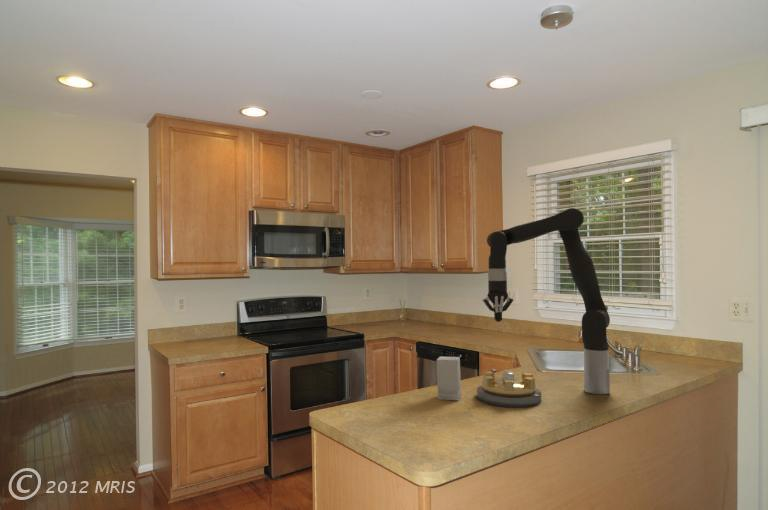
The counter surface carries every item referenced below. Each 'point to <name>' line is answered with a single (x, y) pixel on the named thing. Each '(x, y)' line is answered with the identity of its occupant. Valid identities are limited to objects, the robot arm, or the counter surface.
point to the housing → (509, 399)
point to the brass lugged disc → (509, 384)
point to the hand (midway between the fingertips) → (498, 321)
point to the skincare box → (448, 378)
